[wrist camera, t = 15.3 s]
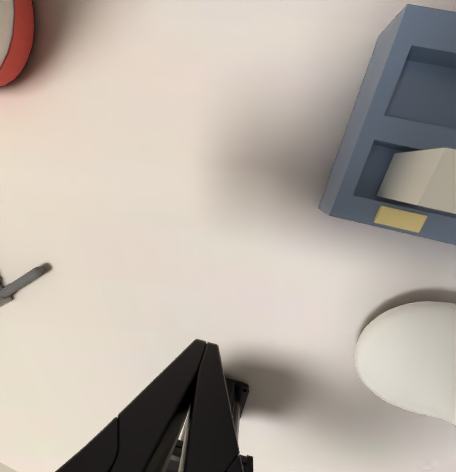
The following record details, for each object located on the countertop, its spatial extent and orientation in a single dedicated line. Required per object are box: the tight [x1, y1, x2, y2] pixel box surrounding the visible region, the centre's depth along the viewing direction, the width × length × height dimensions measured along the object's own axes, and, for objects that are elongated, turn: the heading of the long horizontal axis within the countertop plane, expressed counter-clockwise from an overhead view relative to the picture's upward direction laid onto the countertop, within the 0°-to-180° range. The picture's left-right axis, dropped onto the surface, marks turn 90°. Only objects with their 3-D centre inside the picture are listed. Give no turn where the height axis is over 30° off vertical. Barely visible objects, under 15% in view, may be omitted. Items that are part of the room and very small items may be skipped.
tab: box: [376, 148, 456, 214], centre depth 13 cm, size 3×3×4 cm
